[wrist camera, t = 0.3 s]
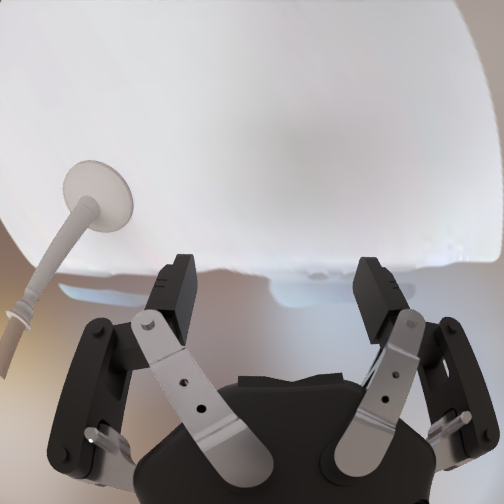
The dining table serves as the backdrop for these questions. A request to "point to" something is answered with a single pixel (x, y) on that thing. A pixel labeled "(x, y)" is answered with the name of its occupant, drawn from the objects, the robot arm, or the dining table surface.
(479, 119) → the dining table surface
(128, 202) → the candlestick
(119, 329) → the robot arm
